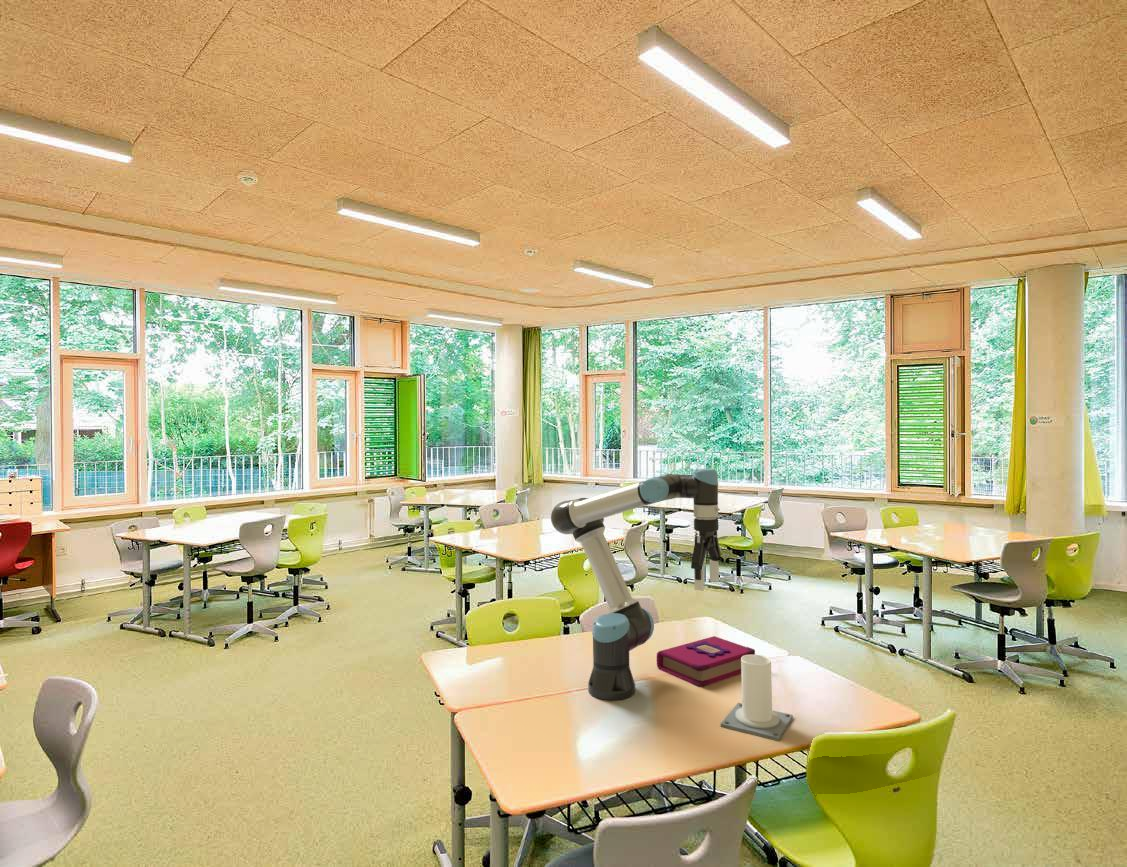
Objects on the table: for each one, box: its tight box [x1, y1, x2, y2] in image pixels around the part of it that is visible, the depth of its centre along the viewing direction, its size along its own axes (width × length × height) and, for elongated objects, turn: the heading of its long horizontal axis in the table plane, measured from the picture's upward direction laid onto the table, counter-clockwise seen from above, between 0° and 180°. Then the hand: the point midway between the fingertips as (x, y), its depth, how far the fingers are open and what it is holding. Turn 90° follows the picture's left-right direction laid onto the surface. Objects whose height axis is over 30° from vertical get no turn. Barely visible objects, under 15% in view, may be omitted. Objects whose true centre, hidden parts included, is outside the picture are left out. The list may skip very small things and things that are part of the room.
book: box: [656, 635, 756, 688], centre depth 220 cm, size 21×28×8 cm
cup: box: [740, 654, 773, 722], centre depth 179 cm, size 8×8×16 cm
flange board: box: [720, 702, 794, 741], centre depth 179 cm, size 16×16×2 cm
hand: (706, 585), depth 197 cm, fingers open, 13 cm apart
